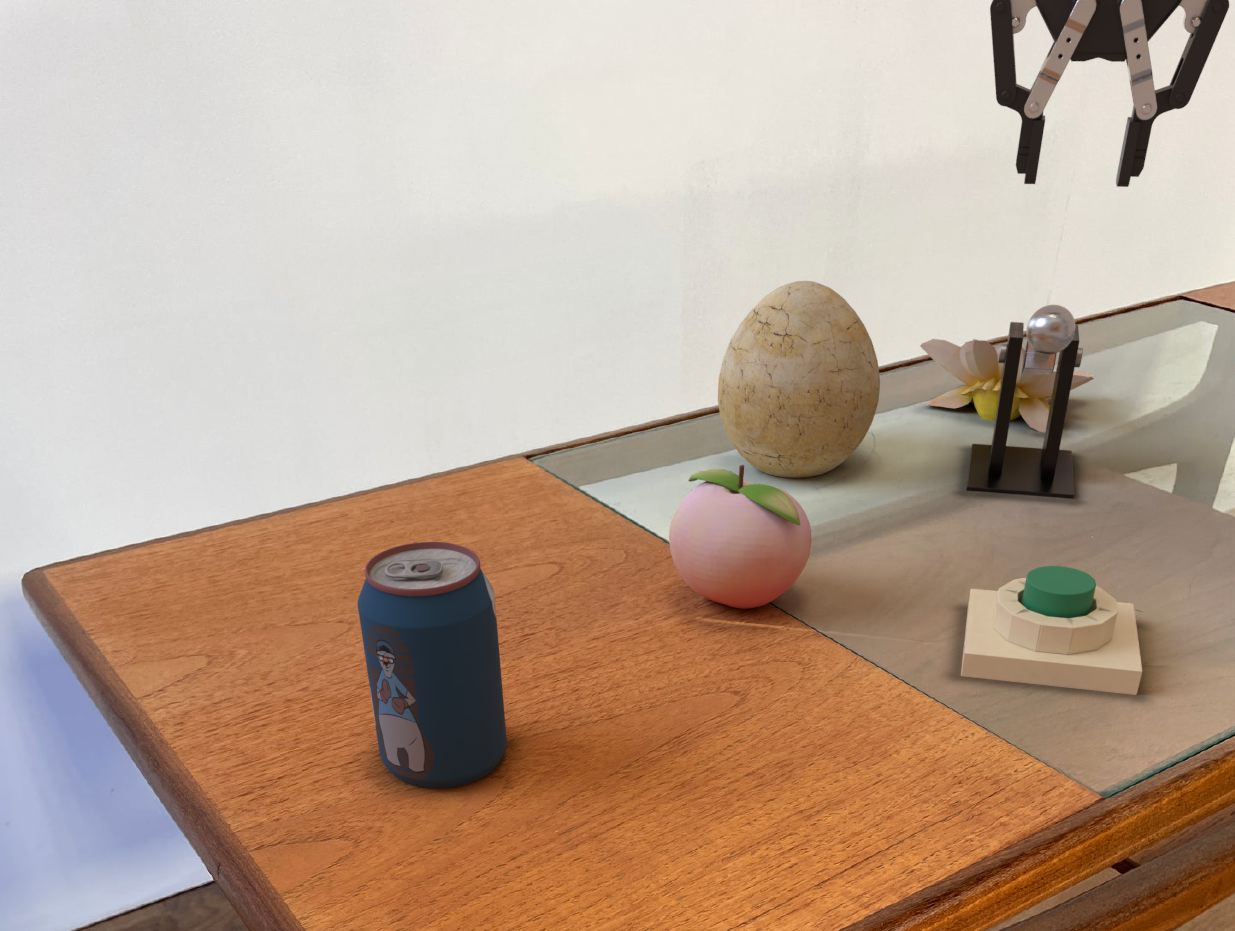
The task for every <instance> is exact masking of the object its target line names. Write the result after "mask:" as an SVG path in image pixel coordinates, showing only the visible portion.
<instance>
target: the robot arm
mask: <svg viewBox="0 0 1235 931" xmlns="http://www.w3.org/2000/svg"><path fill="white" fill-rule="evenodd" d="M1035 7H1036V8H1037V10H1038V12H1039V14H1040V16H1041V18H1042V20H1043V22H1044V24H1045V26H1046V28H1047V30H1048V32H1049V34H1050V36H1051V38H1052V41H1053V42H1052V44H1051V46H1050V48H1049V50H1048V52H1047V54H1046V57H1045V59H1044V60H1043V62H1042V64H1041V67H1040V69H1039V72H1038V73H1037V75H1036V78H1035V79H1034V81H1033V83H1032V85H1031V88H1028V87H1025V86H1023V85H1021V84H1018V82H1017V69H1016V68H1017V66H1016V52H1015V39H1014V37H1015V34H1018V33H1020V32H1021V31H1023V30H1024V28H1025V26H1026V23H1027V17H1028V14H1029V12H1030V11H1031V10H1032V9H1033V8H1035ZM1178 7H1181V8H1182V9H1183V13H1184V17H1183V19H1182V20H1183V21H1182V26H1183V28H1184V30H1185V31H1186V33H1189V37H1188V38H1187V41H1186V44H1185V47H1184V49H1183V51H1182V54H1181V56H1180V58H1179V61H1178V63H1177V65H1176V68H1175V69H1174V73H1173V75H1172V78H1171V80H1170V83H1169V85H1166V86H1163V87H1161V88H1158V89H1155V88H1156V87H1155V83H1154V75H1153V67H1152V61H1151V56H1150V55H1151V54H1150V48H1149V43H1148V42H1150V40H1151V39H1152V38H1153V36H1155V34H1157V32H1158V31H1159V29H1161V27H1162V26H1163V25H1164V24H1165V23H1166V22H1167V20H1169V18H1170V17H1171V16H1172V14H1174V13H1175V11H1176V10H1177V9H1178ZM1229 9H1230V1H1229V0H992V1H991V4H990V6H989V14H990V27H991V28H990V29H991V42H992V56H993V72H994V84H995V85H994V86H995V98H996V99H995V100H996V102H997V103H998V105H999V106H1001V107H1006V108H1007V109H1008V108H1009V109H1011V110H1013V111H1015V112H1017V113H1018V115H1019V116H1020V118H1021V124H1020V125H1021V126H1020V132H1019V140H1018V146H1017V151H1016V159H1015V168H1016V172H1017V174H1018V175H1024V181H1023V184H1024V185H1036V181H1037V176H1038V168H1039V163H1040V157H1041V150H1042V144H1043V138H1044V132H1045V131H1044V130H1045V125H1046V115H1044V110H1045V109H1046V107H1047V104H1048V103H1049V101H1050V99H1051V97H1052V95H1053V93H1054V91H1055V89H1056V87H1057V85H1058V83H1059V82H1060V80H1061V78H1062V76H1063V74H1064V72H1065V70H1066V69H1067V66H1068V65H1069V62H1088V61H1092V60H1095V59H1102V60H1105V61H1108V62H1111V63H1112V62H1113V63H1114V62H1117V63H1120V62H1121V63H1122V62H1123V63H1126V64H1125V65H1126V69H1127V74H1128V80H1129V86H1130V91H1131V97H1132V103H1133V106H1132V111H1131V116H1127V119H1126V125H1125V129H1124V135H1123V140H1122V146H1121V150H1120V156H1119V161H1118V166H1117V172H1116V177H1115V186H1116V187H1117V188H1118V187H1120V188H1128V187H1129V186H1130V182H1131V178H1133V177H1134V178H1139V177H1140V175H1141V173H1142V172H1143V170H1144V168H1145V163H1146V157H1147V152H1148V149H1149V148H1148V147H1149V144H1150V139H1151V138H1150V137H1151V134H1152V127H1153V124H1154V122H1155V120H1156V119H1157V118H1158V117H1159V116H1160V115H1162V114H1165V113H1168V112H1170V111H1173V110H1180V109H1183V108H1185V107H1186V106H1187V105H1188V104H1189V103H1190V101H1191V99H1192V96H1193V94H1194V91H1195V89H1196V87H1197V84H1198V82H1199V80H1200V77H1201V75H1202V73H1203V70H1204V68H1205V65H1206V63H1207V61H1208V58H1209V56H1210V54H1211V52H1212V49H1213V46H1214V44H1215V42H1216V40H1217V37H1218V35H1219V32H1220V30H1221V28H1222V25H1223V22H1224V21H1225V18H1226V16H1227V13H1228V11H1229Z"/></svg>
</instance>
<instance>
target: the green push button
mask: <svg viewBox="0 0 1235 931" xmlns="http://www.w3.org/2000/svg"><path fill="white" fill-rule="evenodd" d="M1025 578H1026V582H1025V587H1024V593H1023V598H1022V605H1023V606H1024V607H1025V608H1027V609H1028V610H1030V611H1033V612H1036V613H1039V614H1042V615H1045V616H1049V617H1059V618H1075V617H1081V616H1087V615H1088V614H1089V613H1090V611H1091V606H1092V602H1093V597H1094V593H1095V588H1096V586H1097V582H1096V579H1095V578H1094V577H1093V576H1092V575H1091V574H1089V573H1087V572H1085V571H1083V570H1080V569H1077V568H1074V567H1068V566H1061V565H1060V566H1059V565H1046V566H1045V565H1044V566H1040V567H1036V568H1034V569H1031V570H1030V571H1028V573H1027V574H1026V577H1025Z"/></svg>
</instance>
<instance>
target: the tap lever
mask: <svg viewBox="0 0 1235 931" xmlns="http://www.w3.org/2000/svg"><path fill="white" fill-rule="evenodd" d="M1075 325H1076V320H1075V317H1074V316H1073V313H1071V311H1070V310H1069V309H1068V308H1066V307H1065V306H1062V305H1060V304H1048V305H1045V306H1042V307H1040V308H1039V309H1037V310H1036V311H1035V312H1034V313H1033V314H1032V315H1031V316H1030V318H1029V320H1028V321H1027V325H1026V342H1025V349H1024V350H1025V355H1024V361H1023V368H1022V374H1031V375H1049V376H1050V375H1051V374H1052V372H1053V371H1055V366H1056V359H1057V354H1058V353H1060V351H1062V350H1063V349H1065V348H1066V347H1067V346H1068V345H1069V344H1070V342H1071V341H1072V339H1073V336H1074V333H1075Z"/></svg>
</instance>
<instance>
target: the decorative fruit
mask: <svg viewBox="0 0 1235 931" xmlns="http://www.w3.org/2000/svg"><path fill="white" fill-rule="evenodd" d="M744 473H745V465H744V464H740V465H739V466H738V474H736V473H735V472H733V471H731V470H728V469H724V468H710V469H705V470H698V471H696V472H694V473H693V474H691V475H690V477H689V479H688V482H691V483H692V482H696V481H698V480H700V481H703V482H701V483H699V484H697V485H696V486H694V487H693V488H692V489H691V490H690V491H689V492H688V493H687V495H686V496H685V497H684V498H683V500H682V501H681V502H680V504H679V505H678V506H677V509H676V510H675V512H674V514H673V516H672V518H671V521H670V524H669V528H668V529H669V530H668V543H669V550H670V555H671V558H672V561H673V564H674V566H675V568H676V571H677V572H678V574H679V576H680V578H681V579H682V580H683V582H684V583H685V584H686V585H687V586H688V587H689V588H690V589H691V590H692V591H693V592H695V593H696V594H698V595H699V596H701V597H703V598H705V599H707V600H709V601H711V602H712V601H713V602H715V603H718V604H722V605H725V606H728V607H731V608H735V609H740V610H741V609H742V610H747V609H748V610H749V609H755V608H759V607H762V606H765V605H767V604H769V603H771V602H773V601H774V600H776V599H777V598H778V597H780V596H781V595H783V594H784V593H785V592H787V590H789V589H790V588H791V587H792V586H793V585H795V584H794V583H795V582H796V581H797V580H798V579H799V577H800V576H801V574H802V573H803V571H804V569H805V568H806V566H807V563H808V560H809V558H810V555H811V549H812V528H811V523H810V521H809V519H808V515H807V514H806V511H805V510H804V508H803V506H802V505H801V504H800V503H799V502H798V501H797V499H796V498H795V497H793V496H792V495H791V494H790V493H789V492H787V491H786V490H784V489H782V488H781V487H780V488H779V487H776V486H774V485H770V484H763V483H751V482H749V481H748V480H747V479H744V475H745V474H744Z"/></svg>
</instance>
